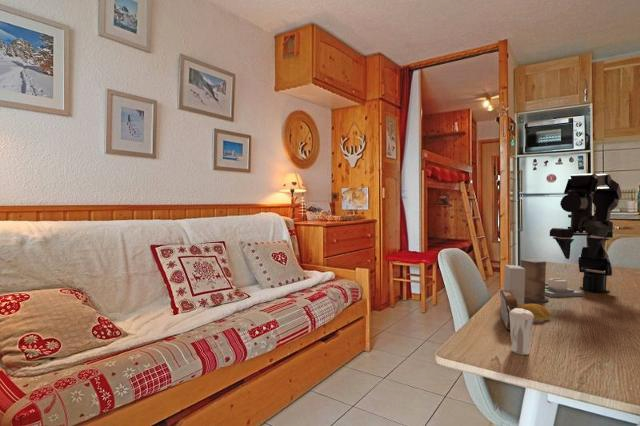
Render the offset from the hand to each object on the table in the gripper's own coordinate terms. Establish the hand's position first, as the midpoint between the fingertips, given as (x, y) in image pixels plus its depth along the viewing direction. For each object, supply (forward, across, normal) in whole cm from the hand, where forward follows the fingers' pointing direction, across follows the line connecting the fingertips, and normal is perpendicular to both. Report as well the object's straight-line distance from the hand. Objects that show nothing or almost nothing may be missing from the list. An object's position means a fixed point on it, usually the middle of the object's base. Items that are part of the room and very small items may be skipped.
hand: (579, 258), depth 122 cm
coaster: (+13, -17, 0) cm, 21 cm away
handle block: (+12, -17, 0) cm, 21 cm away
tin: (+13, -41, -22) cm, 48 cm away
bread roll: (+14, -31, -17) cm, 38 cm away
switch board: (+13, -3, +7) cm, 15 cm away
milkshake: (+13, -50, -38) cm, 64 cm away
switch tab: (+12, -3, +6) cm, 13 cm away
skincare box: (+13, -28, -6) cm, 32 cm away
